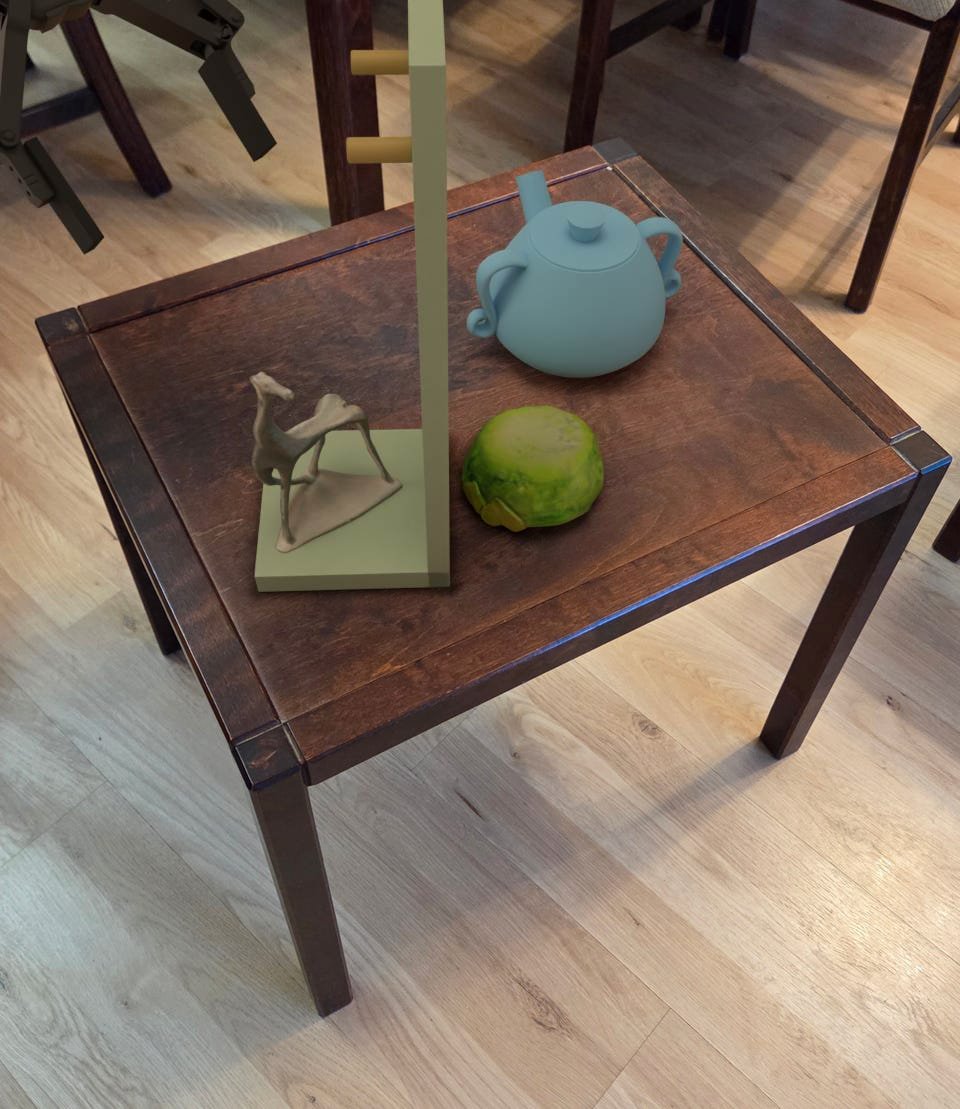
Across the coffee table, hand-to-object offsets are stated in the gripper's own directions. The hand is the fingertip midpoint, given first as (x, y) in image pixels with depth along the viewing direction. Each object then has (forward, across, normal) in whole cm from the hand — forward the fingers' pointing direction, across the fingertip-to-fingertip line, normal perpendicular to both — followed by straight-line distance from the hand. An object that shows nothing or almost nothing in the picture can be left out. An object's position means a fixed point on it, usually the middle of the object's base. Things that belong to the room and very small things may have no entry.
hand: (184, 198), depth 67 cm
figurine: (+22, 0, -7) cm, 24 cm away
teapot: (+23, -29, -10) cm, 38 cm away
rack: (+25, -1, -8) cm, 26 cm away
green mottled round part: (+30, -13, -2) cm, 33 cm away
